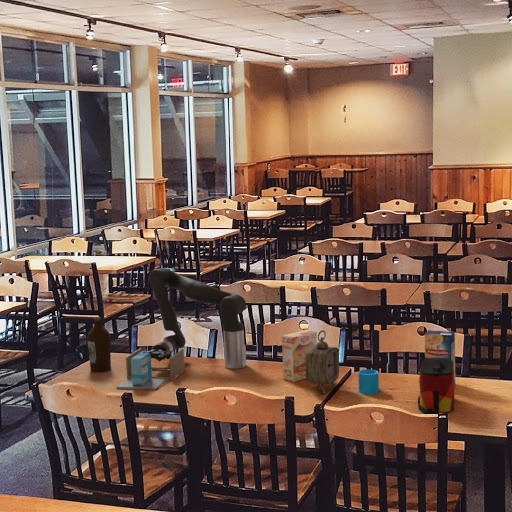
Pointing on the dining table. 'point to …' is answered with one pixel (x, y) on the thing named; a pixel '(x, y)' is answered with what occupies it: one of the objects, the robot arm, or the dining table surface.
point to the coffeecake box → (296, 353)
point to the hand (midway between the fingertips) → (150, 358)
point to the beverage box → (440, 345)
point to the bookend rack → (175, 367)
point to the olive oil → (99, 347)
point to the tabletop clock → (322, 364)
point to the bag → (436, 386)
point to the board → (149, 385)
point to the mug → (368, 381)
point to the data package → (141, 368)
